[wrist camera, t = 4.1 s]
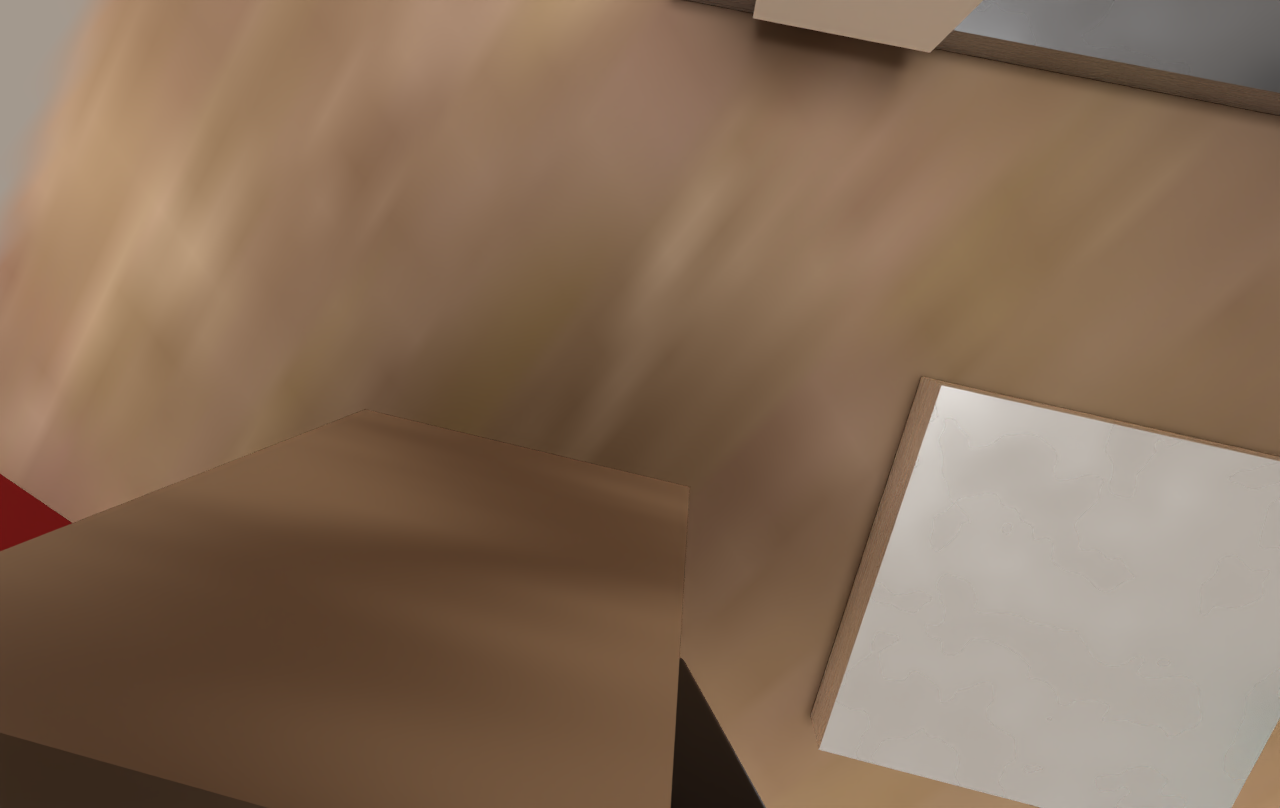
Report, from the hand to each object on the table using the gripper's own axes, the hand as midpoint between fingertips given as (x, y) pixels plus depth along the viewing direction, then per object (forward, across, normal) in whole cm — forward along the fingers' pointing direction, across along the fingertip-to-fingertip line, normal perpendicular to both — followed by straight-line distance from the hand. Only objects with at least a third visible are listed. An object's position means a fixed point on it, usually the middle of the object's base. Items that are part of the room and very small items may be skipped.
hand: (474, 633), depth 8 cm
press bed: (+11, -15, +2) cm, 19 cm away
